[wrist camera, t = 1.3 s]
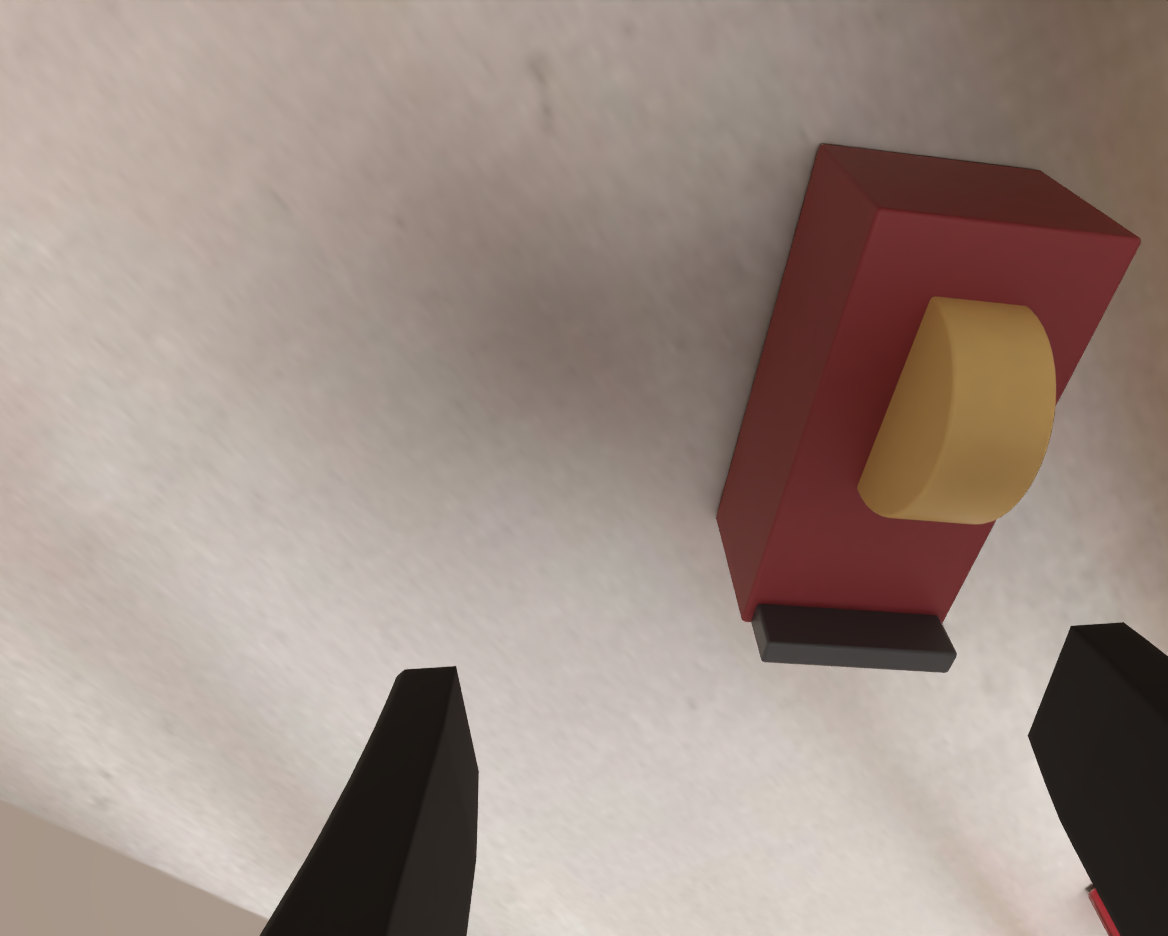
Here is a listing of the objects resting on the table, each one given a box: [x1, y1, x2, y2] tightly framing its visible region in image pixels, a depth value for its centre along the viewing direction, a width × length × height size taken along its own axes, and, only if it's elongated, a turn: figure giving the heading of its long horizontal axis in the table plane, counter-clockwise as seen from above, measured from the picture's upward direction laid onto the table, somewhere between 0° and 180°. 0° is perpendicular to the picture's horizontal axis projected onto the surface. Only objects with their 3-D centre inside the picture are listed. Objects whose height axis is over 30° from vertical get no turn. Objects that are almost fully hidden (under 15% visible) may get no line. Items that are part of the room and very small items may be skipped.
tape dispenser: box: [716, 144, 1141, 673], centre depth 17 cm, size 9×4×6 cm, turn 173°
